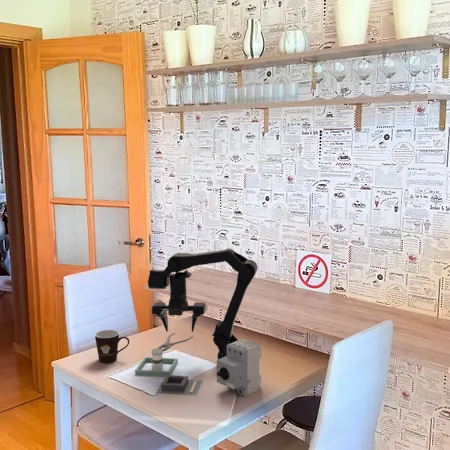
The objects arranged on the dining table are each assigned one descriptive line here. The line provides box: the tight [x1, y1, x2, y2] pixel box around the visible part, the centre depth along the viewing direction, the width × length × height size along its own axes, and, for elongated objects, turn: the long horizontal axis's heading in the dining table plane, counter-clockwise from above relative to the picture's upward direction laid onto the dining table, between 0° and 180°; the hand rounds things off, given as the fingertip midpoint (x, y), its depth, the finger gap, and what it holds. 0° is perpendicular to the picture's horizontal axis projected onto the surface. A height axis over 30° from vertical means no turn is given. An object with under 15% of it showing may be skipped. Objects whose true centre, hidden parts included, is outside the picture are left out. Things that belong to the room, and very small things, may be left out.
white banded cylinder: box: [151, 347, 164, 371], centre depth 199 cm, size 4×4×7 cm
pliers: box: [157, 332, 194, 352], centre depth 227 cm, size 10×1×20 cm
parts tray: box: [134, 356, 179, 377], centre depth 200 cm, size 12×12×2 cm
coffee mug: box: [94, 329, 130, 364], centre depth 209 cm, size 12×9×10 cm
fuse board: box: [155, 374, 203, 396], centre depth 186 cm, size 13×11×3 cm
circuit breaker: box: [215, 338, 262, 397], centre depth 183 cm, size 8×14×15 cm, turn 134°
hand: (179, 331), depth 206 cm, fingers open, 9 cm apart
